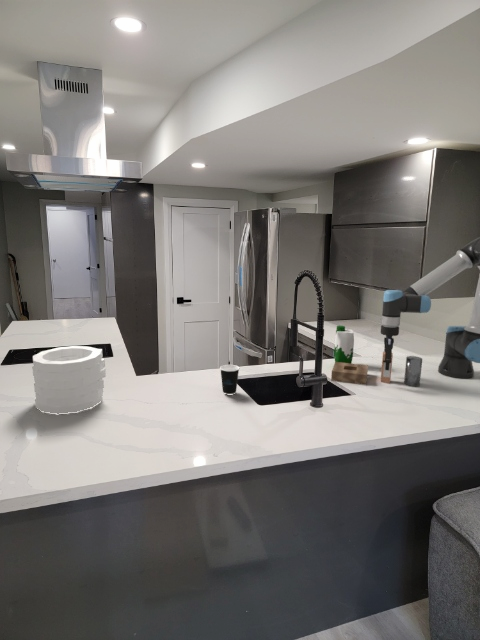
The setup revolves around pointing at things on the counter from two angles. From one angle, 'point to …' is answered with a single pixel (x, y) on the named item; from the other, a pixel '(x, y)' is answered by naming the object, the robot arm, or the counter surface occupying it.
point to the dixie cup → (229, 378)
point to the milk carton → (344, 345)
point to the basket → (68, 378)
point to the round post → (413, 371)
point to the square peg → (383, 379)
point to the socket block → (349, 373)
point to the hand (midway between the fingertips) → (386, 372)
